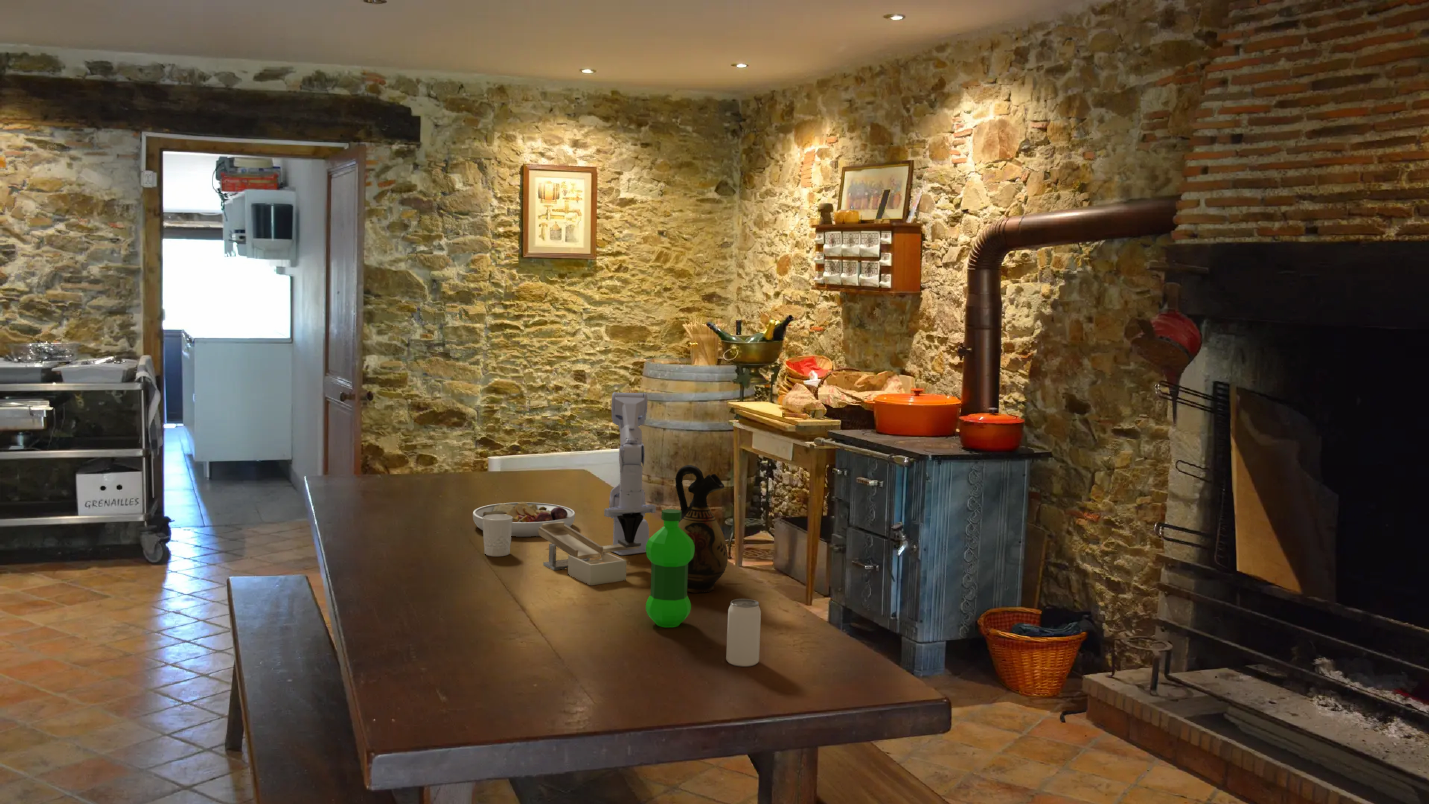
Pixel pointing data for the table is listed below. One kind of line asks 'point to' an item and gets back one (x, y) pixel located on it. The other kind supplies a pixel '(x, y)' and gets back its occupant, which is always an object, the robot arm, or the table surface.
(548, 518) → the bowl
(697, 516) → the ceramic jug
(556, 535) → the lever
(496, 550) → the white cup
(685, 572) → the plastic bottle
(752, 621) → the can
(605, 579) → the cream open box
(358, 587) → the table surface
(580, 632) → the table surface
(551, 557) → the lever stand
